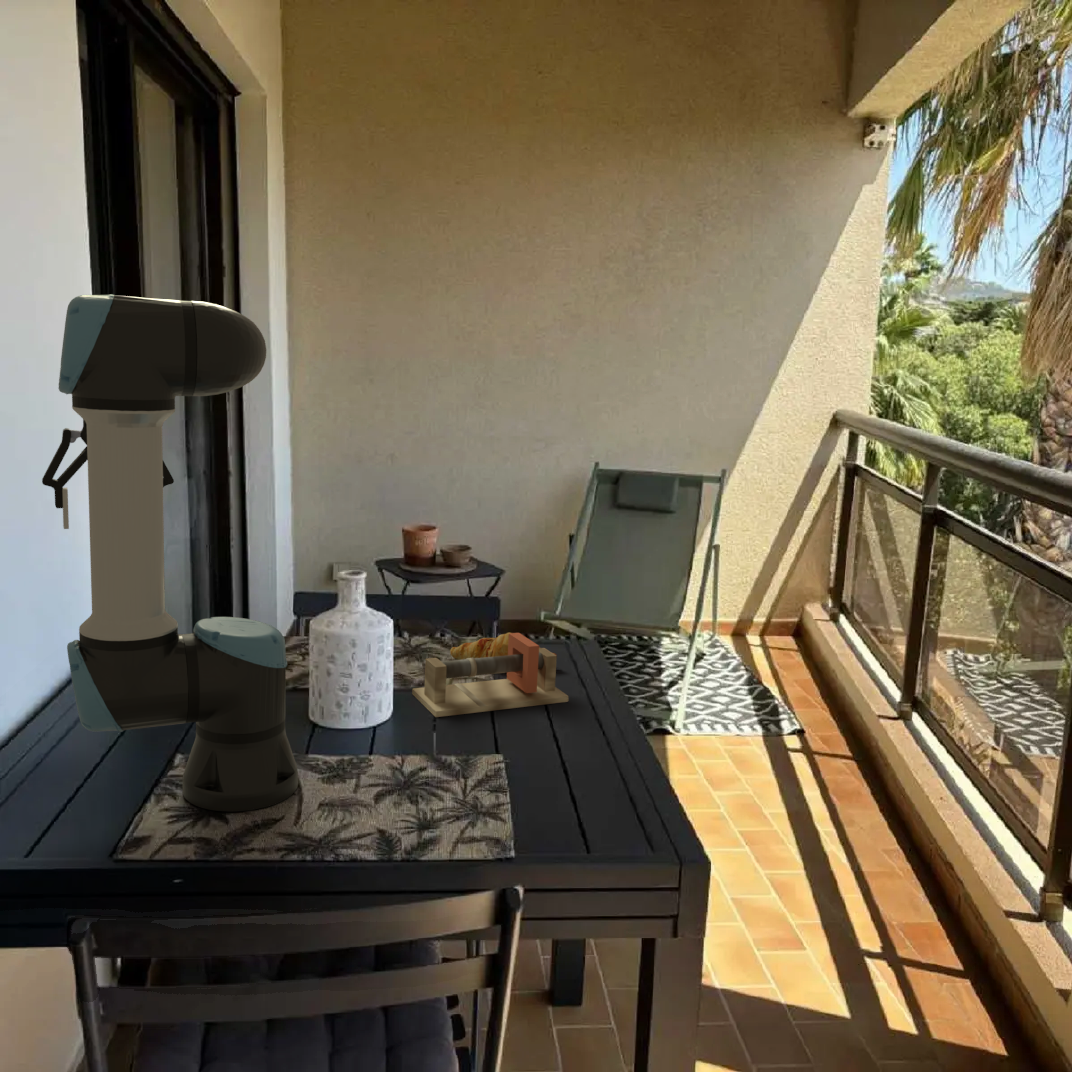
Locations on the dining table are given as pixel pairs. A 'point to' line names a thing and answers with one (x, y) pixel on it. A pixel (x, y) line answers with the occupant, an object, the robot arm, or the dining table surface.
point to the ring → (524, 662)
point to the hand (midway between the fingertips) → (110, 526)
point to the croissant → (482, 648)
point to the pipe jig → (485, 685)
